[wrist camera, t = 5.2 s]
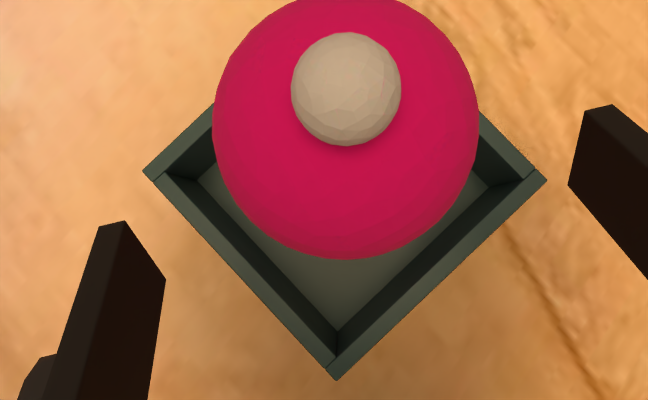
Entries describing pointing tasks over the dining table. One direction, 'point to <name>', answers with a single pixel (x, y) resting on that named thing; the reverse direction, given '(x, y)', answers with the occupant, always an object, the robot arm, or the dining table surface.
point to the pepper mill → (345, 126)
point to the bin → (333, 274)
